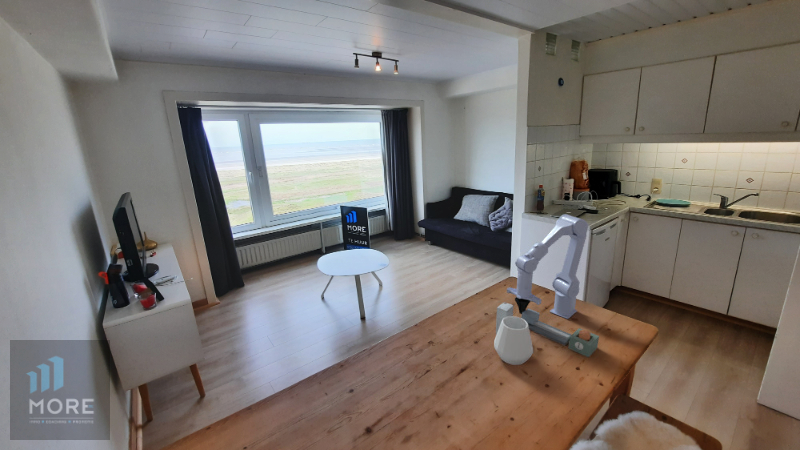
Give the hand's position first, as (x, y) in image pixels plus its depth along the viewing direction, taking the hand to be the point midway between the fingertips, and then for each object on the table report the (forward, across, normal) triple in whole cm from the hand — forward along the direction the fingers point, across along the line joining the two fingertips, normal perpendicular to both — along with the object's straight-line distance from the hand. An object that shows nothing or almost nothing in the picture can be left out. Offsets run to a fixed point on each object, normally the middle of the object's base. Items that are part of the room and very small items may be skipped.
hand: (522, 313), depth 138 cm
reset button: (+1, +25, 0) cm, 25 cm away
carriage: (+2, +4, 0) cm, 4 cm away
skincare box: (+4, 0, -13) cm, 14 cm away
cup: (+4, +10, -23) cm, 25 cm away
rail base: (+4, +10, 0) cm, 10 cm away
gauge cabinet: (+4, +25, 0) cm, 25 cm away
